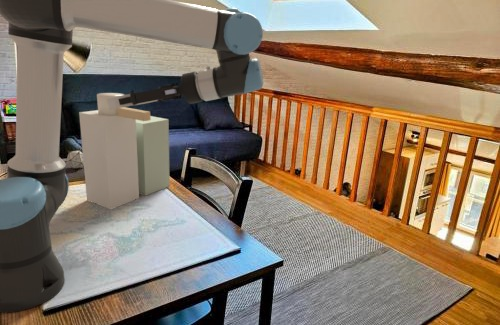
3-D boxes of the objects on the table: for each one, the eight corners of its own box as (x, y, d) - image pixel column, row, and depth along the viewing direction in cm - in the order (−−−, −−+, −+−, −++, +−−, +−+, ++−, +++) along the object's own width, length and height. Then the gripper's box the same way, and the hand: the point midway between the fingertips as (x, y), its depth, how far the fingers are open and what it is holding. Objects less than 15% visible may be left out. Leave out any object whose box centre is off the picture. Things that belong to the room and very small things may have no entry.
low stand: (169, 186, 139) (168, 119, 131) (145, 195, 129) (143, 123, 121) (147, 179, 144) (145, 115, 137) (123, 187, 135) (119, 118, 127)
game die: (82, 177, 153) (87, 162, 148) (60, 171, 150) (65, 156, 144) (86, 161, 159) (91, 147, 154) (65, 156, 156) (70, 141, 150)
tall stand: (139, 198, 126) (135, 113, 117) (110, 209, 116) (103, 117, 108) (116, 190, 132) (111, 108, 123) (87, 200, 122) (79, 112, 114)
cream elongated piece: (157, 118, 110) (156, 99, 108) (136, 122, 103) (135, 101, 102) (114, 110, 120) (113, 92, 118) (92, 113, 113) (91, 94, 111)
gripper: (209, 71, 100) (139, 86, 104) (181, 70, 76) (91, 89, 80) (215, 98, 102) (146, 111, 106) (189, 105, 78) (100, 122, 82)
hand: (122, 102), depth 93 cm, fingers open, 13 cm apart
